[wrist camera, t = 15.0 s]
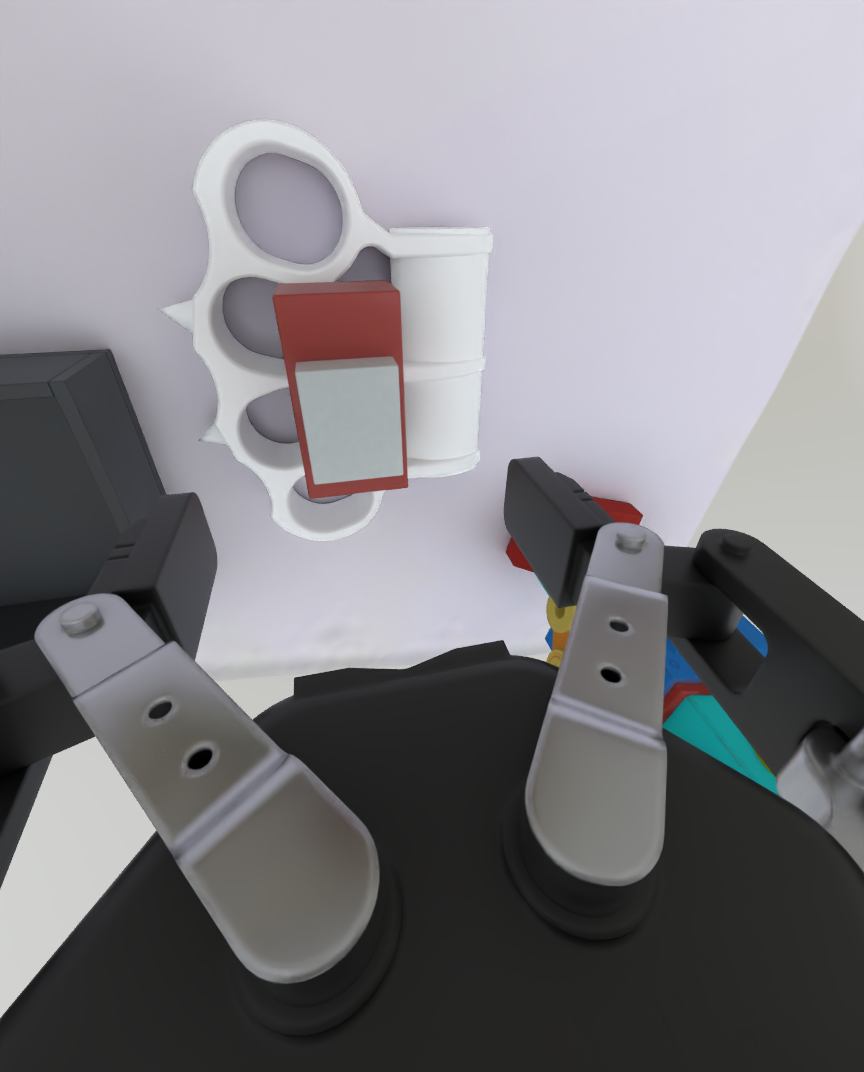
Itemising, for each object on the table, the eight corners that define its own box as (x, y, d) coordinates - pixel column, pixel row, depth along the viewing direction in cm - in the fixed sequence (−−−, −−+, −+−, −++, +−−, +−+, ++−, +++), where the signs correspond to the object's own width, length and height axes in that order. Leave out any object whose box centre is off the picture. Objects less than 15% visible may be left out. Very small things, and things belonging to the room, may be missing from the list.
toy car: (396, 453, 24) (415, 503, 20) (307, 462, 23) (308, 516, 19) (387, 278, 19) (408, 295, 15) (276, 281, 19) (267, 301, 15)
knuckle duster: (465, 495, 31) (232, 522, 28) (482, 137, 20) (114, 127, 18) (481, 523, 28) (224, 555, 25) (509, 125, 18) (79, 112, 15)
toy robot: (647, 505, 35) (1116, 910, 14) (609, 569, 38) (954, 976, 18) (511, 482, 31) (891, 987, 11) (481, 555, 34) (734, 1055, 14)
